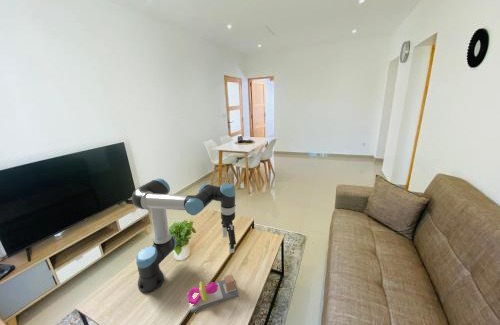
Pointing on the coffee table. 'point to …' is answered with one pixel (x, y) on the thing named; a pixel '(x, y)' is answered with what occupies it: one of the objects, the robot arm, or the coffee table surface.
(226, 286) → the terracotta block
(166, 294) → the coffee table surface
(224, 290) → the foundation slab
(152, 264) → the robot arm
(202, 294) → the toy
